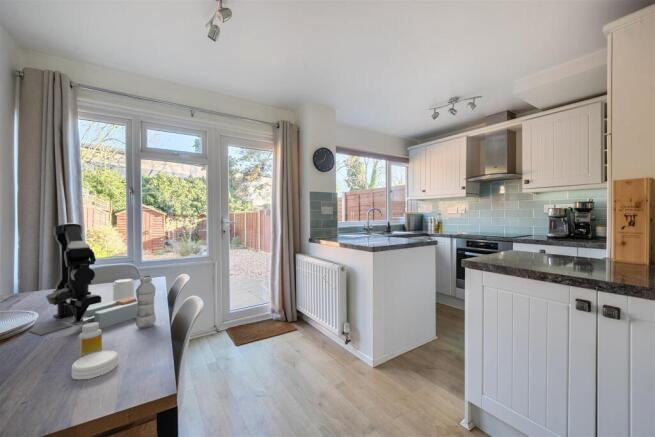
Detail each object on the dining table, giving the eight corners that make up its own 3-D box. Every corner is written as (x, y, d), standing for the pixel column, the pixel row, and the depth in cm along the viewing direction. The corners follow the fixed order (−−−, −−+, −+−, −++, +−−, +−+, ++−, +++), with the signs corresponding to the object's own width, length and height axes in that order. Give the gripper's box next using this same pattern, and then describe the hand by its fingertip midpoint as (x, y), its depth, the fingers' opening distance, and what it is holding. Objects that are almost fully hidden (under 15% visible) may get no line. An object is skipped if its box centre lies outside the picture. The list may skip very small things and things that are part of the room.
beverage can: (125, 307, 127) (125, 282, 127) (108, 307, 128) (108, 282, 128) (137, 302, 136) (137, 278, 136) (122, 301, 136) (122, 278, 136)
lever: (76, 326, 99) (75, 322, 99) (71, 324, 101) (70, 321, 101) (135, 305, 119) (134, 302, 119) (130, 304, 120) (130, 301, 120)
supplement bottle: (105, 352, 85) (106, 322, 85) (85, 361, 80) (86, 329, 80) (94, 349, 87) (95, 320, 87) (74, 357, 82) (74, 326, 82)
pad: (28, 331, 100) (28, 330, 100) (60, 322, 108) (60, 321, 108) (40, 335, 97) (40, 334, 97) (72, 326, 105) (72, 325, 105)
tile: (116, 306, 116) (116, 300, 116) (129, 302, 120) (128, 297, 120) (123, 307, 114) (123, 302, 114) (136, 303, 118) (135, 298, 118)
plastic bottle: (159, 325, 107) (159, 275, 107) (141, 331, 101) (142, 279, 101) (149, 322, 110) (149, 274, 110) (131, 328, 104) (132, 277, 104)
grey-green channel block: (99, 329, 103) (100, 313, 103) (82, 323, 108) (82, 309, 107) (146, 313, 119) (147, 300, 119) (130, 309, 124) (130, 297, 124)
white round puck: (126, 363, 79) (126, 352, 79) (89, 384, 70) (90, 370, 70) (100, 359, 82) (100, 348, 82) (61, 378, 72) (61, 365, 72)
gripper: (37, 281, 98) (36, 324, 98) (64, 287, 90) (63, 332, 90) (75, 276, 108) (74, 314, 108) (102, 280, 101) (102, 321, 101)
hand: (78, 320), depth 101 cm, fingers closed, pressing on lever
